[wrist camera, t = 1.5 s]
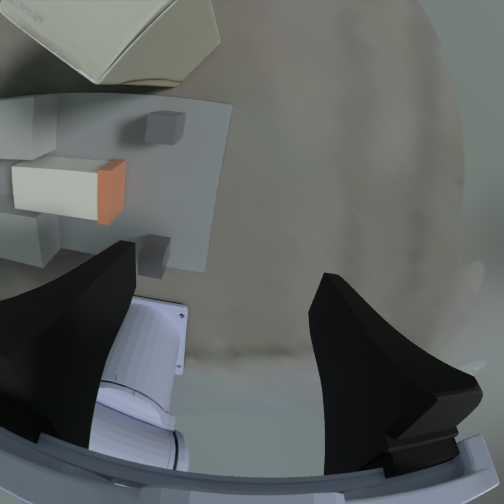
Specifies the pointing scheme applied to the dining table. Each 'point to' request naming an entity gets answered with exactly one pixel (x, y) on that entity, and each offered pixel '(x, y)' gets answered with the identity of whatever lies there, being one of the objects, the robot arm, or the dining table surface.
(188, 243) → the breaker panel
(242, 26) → the dining table surface
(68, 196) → the button
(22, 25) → the skincare box
